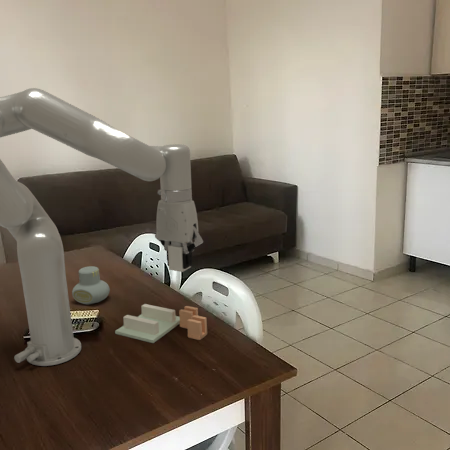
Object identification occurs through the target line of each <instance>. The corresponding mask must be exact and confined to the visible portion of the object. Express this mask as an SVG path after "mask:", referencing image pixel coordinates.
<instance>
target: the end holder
mask: <svg viewBox="0 0 450 450" xmlns="http://www.w3.org/2000/svg"><path fill="white" fill-rule="evenodd" d="M140 308H141V314H139V315H138V316H135V315H130V314H126V315H124V316H123V318H122V319H123V325H122V326H121V327H119V328H118V329H116V330H115V331H114V333H115V335H118V336H123V337H126V338H131V339H135V340H139V341H143V342H147V343H150V344H155V342H157V341H159V340H160V339H161V338H162V337H164V336H165V335H166V334H168V333H169V332H170V331H172V330H173V329H175V328H176V327H177V326H178V325H180V315H179V316H177V315H176V310H175V309H171V308H168V307H161V306H157V305H151V304H147V303H144V304H141V307H140Z"/></svg>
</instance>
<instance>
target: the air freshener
mask: <svg viewBox="0 0 450 450" xmlns="http://www.w3.org/2000/svg"><path fill="white" fill-rule="evenodd" d="M100 276H101V275H100V269H99V267H97V266H89V265H88V266H84V267H82V268H80V269H79V270H78V278H79V279H78V280H79V282H78V283H77V284H76V285H74V287H73V288H72V291H71V295H72V298H73V299H74V300H75V301H76V302H78V303H80V304H83V305H88V306H89V305H94V304H98V303H100V302H102V301H104V300H105V299H106V298H107V297H108V296H109V294H110V291H111V288H110V285H109V284H108V283H107V282H106V281H104V280H102V279H101V277H100Z"/></svg>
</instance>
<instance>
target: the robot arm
mask: <svg viewBox="0 0 450 450" xmlns="http://www.w3.org/2000/svg"><path fill="white" fill-rule="evenodd" d="M29 130H34V131H35V132H38V133H39V134H42V135H44V136H47V137H49V138H51V139H53V140H55V141H57V142H60V143H62V144H64V145H66V146H67V147H70V148H72V149H74V150H75V151H78V152H81V153H82V154H85V155H86V156H89V157H90V158H91V157H92V158H94V159H97V160H100V161H102V162H104V163H106V164H108V165H111V166H113V167H115V168H117V169H120V170H121V171H123V172H126V173H128V174H129V175H132V176H134V177H135V178H138V179H140V180H142V181H144V182H145V181H146V182H153V181H156V180H160V183H159V184H160V189H157V195H159V196H160V200H158V204H157V210H156V227H155V228H156V233H155V235H154V238H155V239H156V240H157V241H158V242H160V244H161V245H162V246H163V248H164V249H163V250H164V251H165V252H166V261H167V267H169V257H168V245H170V244H171V242H178V243H182V244H183V249H184V253H183V269H186V268H188V267H190V266H191V267H192V264H193V252H194V251H195V249H196V248H197V247H198V246H200V245H201V244H203V243H204V240H203V238H202V236H201V235H200V233H199V221H198V213H197V208H196V204H195V201H194V200H193V196H192V195H193V193H192V192H193V191H192V170H191V169H192V167H191V151H190V148H189V147H188V146H187V145H185V144H175V143H174V144H165V145H149V144H147V143H145V142H143V141H140V140H139V139H137V138H136V137H133V136H130V135H129V134H127V133H125V132H123V131H121V130H119V129H117V128H115V127H114V126H112V125H110V124H109V123H107V122H106V121H105V120H102V119H100V118H99V117H96V116H95V115H93V114H91V113H89V112H87V111H85V110H84V109H81V108H78V107H77V106H75V105H73V104H72V103H69V102H68V101H65V100H63V99H61V98H59V97H57V96H56V95H54V94H52V93H50V92H47V91H46V90H44V89H41V88H38V87H37V88H36V87H31V88H26V89H24V90H23V91H19V92H16V93H12V94H8V95H4V96H0V138H4V137H6V136H7V137H8V136H11V135H15V134H18V133H22V132H26V131H29ZM0 227H2V228H4V229H7V231H8V232H9V233H10V234H11V236H12V238H13V239H14V240H15V241H16V250H17V252H16V253H17V261H18V266H19V272H20V277H21V284H22V289H23V290H22V291H23V296H24V303H25V308H26V309H25V310H26V316H27V323H28V329H29V337H30V340H29V341H27V342H26V344H27V347H26V348H24V350H23V351H20V352H18V353H17V354H15V355H14V358H13V359H14V361H15V362H16V363H19V364H20V363H22V362H24V361H27V362H28V363H29V364H32V365H35V366H41V367H47V366H48V367H50V366H54V365H55V366H56V365H60V364H62V363H63V364H64V363H66V362H68V361H70V360H72V359H73V358H75V357H77V356H78V354H79V353H80V352H81V350H82V343H81V341H80V340H79V339H78V338H76V337H74V331H73V330H74V329H73V323H72V315H71V308H70V301H69V300H70V298H69V292H68V291H69V290H68V283H67V275H66V264H65V252H64V245H63V241H62V237H61V234H60V233H59V230H58V228H57V226H56V224H55V222H54V221H53V220H52V219H51V218H50V216H49V214H48V213H47V212H46V210H45V209H44V207H43V206H42V205H41V204H40V202H39V201H38V199H37V198H36V197H35V195H34V194H33V193H32V191H31V190H30V189H29V187H27V186H26V185H25V184H23V183H22V182H20V181H17V180H16V179H15V177H14V176H13V175H12V174H11V172H10V171H9V169H8V168H7V167H6V164H5V163H4V162H3V161H2V159H0ZM193 240H194V241H193ZM191 267H190V268H191Z"/></svg>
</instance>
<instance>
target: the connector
mask: <svg viewBox="0 0 450 450" xmlns="http://www.w3.org/2000/svg"><path fill="white" fill-rule="evenodd" d="M183 253H184V249H183V244H182V243H178V242H171V244H170V245H168V257H169V266H168V270H170V271H175V272H180V273H183V272H185V271H187V270H188V269H190V268H192V265H191V266H190V267H188V268H186V269H183Z"/></svg>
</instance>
